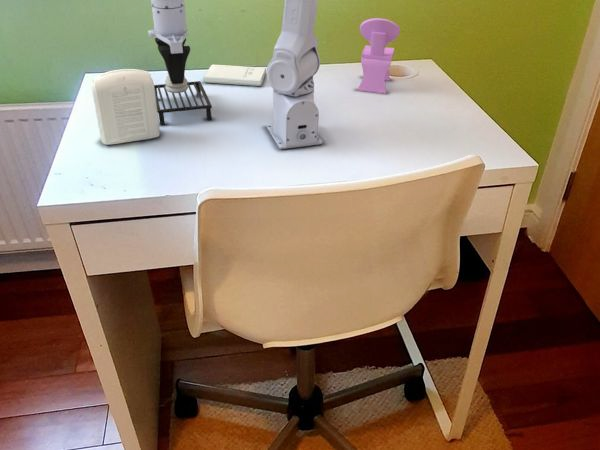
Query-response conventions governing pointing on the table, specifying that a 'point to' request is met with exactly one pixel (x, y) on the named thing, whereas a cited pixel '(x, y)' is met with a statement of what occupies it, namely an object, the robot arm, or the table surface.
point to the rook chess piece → (176, 86)
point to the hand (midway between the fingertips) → (176, 79)
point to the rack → (198, 88)
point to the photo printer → (125, 106)
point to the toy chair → (377, 53)
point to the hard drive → (235, 75)
